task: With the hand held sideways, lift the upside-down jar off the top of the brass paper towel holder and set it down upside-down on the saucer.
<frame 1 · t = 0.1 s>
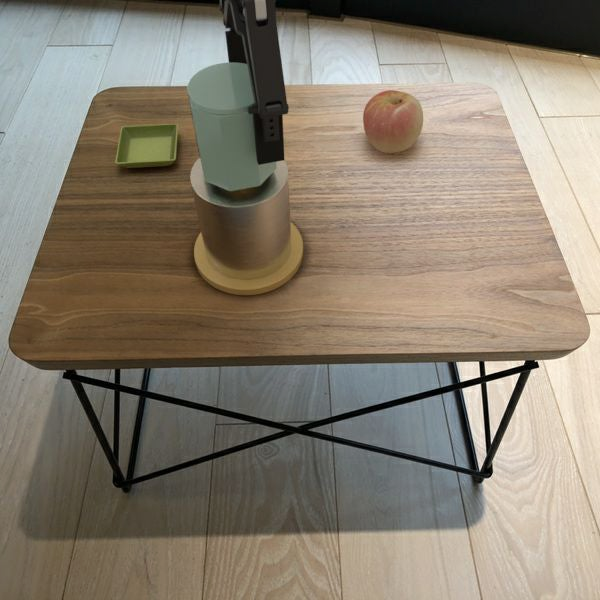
hand: (256, 121, 66), 19 cm above the table, tool pointing down, fingers open, 13 cm apart
saucer: (150, 154, 92), on the table
apple: (390, 144, 92), on the table
jar: (238, 164, 68), point 15 cm above the table, touching towel holder
towel holder: (249, 253, 79), on the table
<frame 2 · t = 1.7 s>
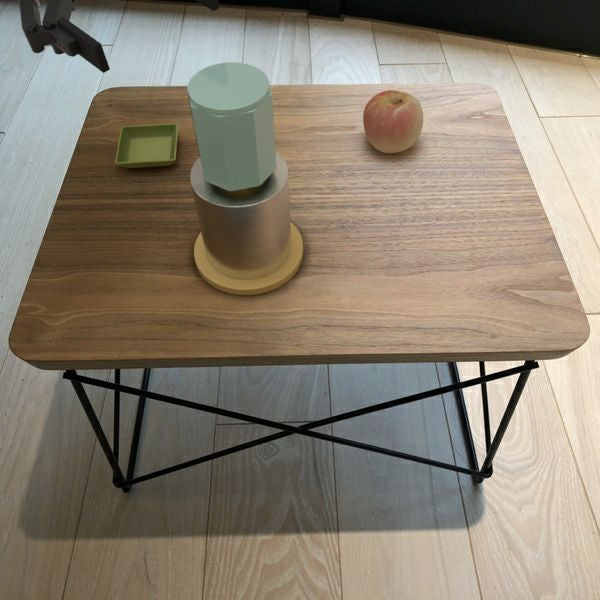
hand: (160, 26, 59), 28 cm above the table, tool horizontal, fingers open, 13 cm apart
nothing on the table moved.
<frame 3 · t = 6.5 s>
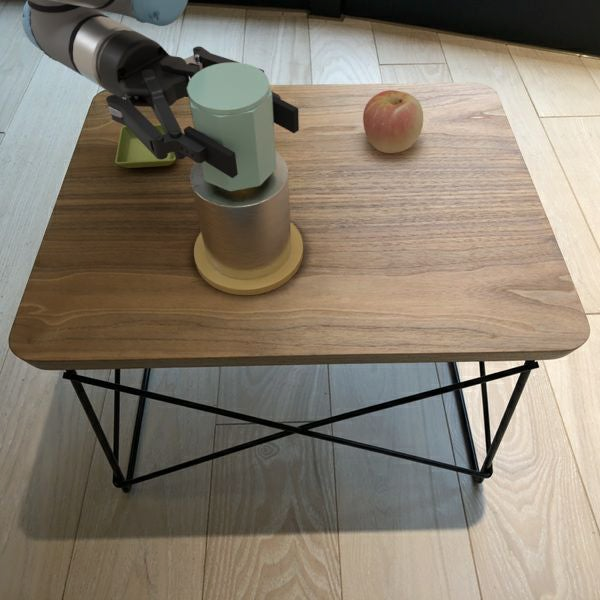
hand: (265, 142, 62), 20 cm above the table, tool horizontal, fingers closed on jar, 8 cm apart
jar: (238, 164, 68), point 15 cm above the table, touching gripper, towel holder
everything else where it was.
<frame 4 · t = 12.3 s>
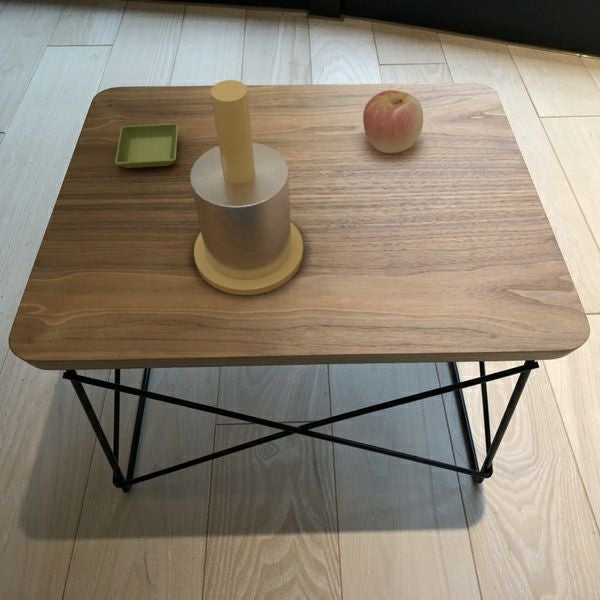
when the fingers open (7 cm above the table, at t = 18.6 s): jar stays where it is, resting on saucer.
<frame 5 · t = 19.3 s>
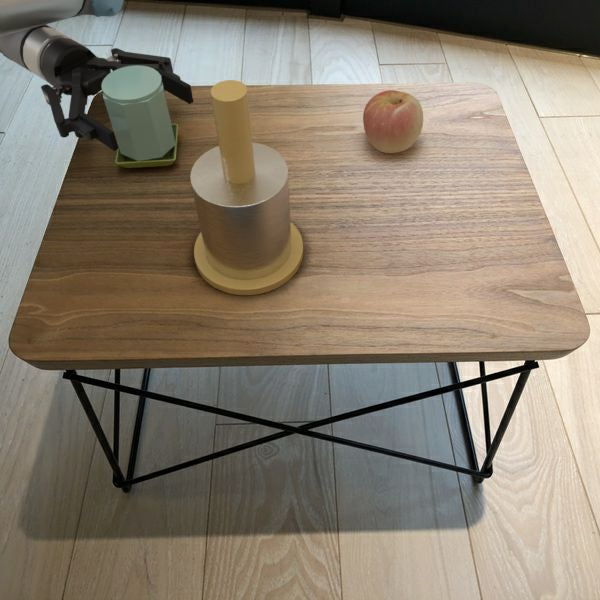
hand: (153, 117, 84), 8 cm above the table, tool horizontal, fingers open, 13 cm apart
saucer: (150, 154, 92), on the table, touching jar
jar: (147, 142, 90), point 2 cm above the table, touching saucer
everything else where it was.
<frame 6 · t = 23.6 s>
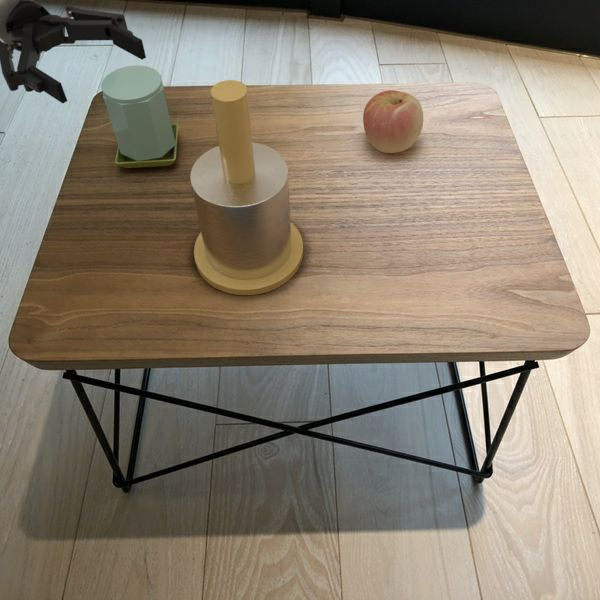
hand: (103, 70, 84), 12 cm above the table, tool horizontal, fingers open, 13 cm apart
nothing on the table moved.
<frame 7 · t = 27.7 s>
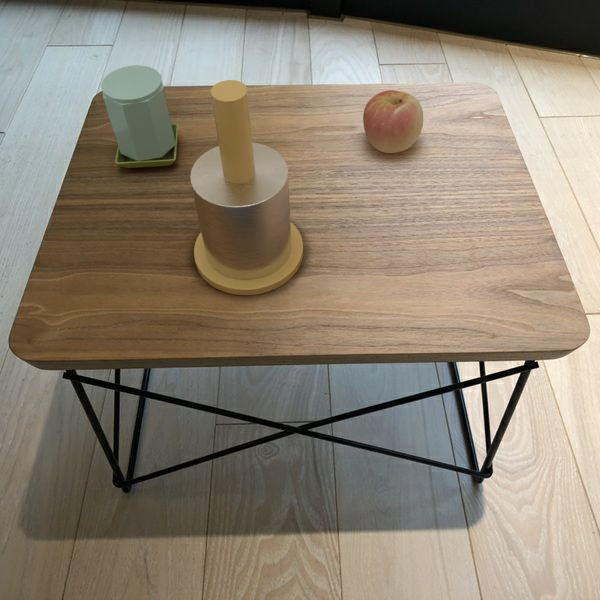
nothing on the table moved.
at the end: jar 0.0 cm from the saucer (horizontally); jar point 2.1 cm above the table; jar tilted 0° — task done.
